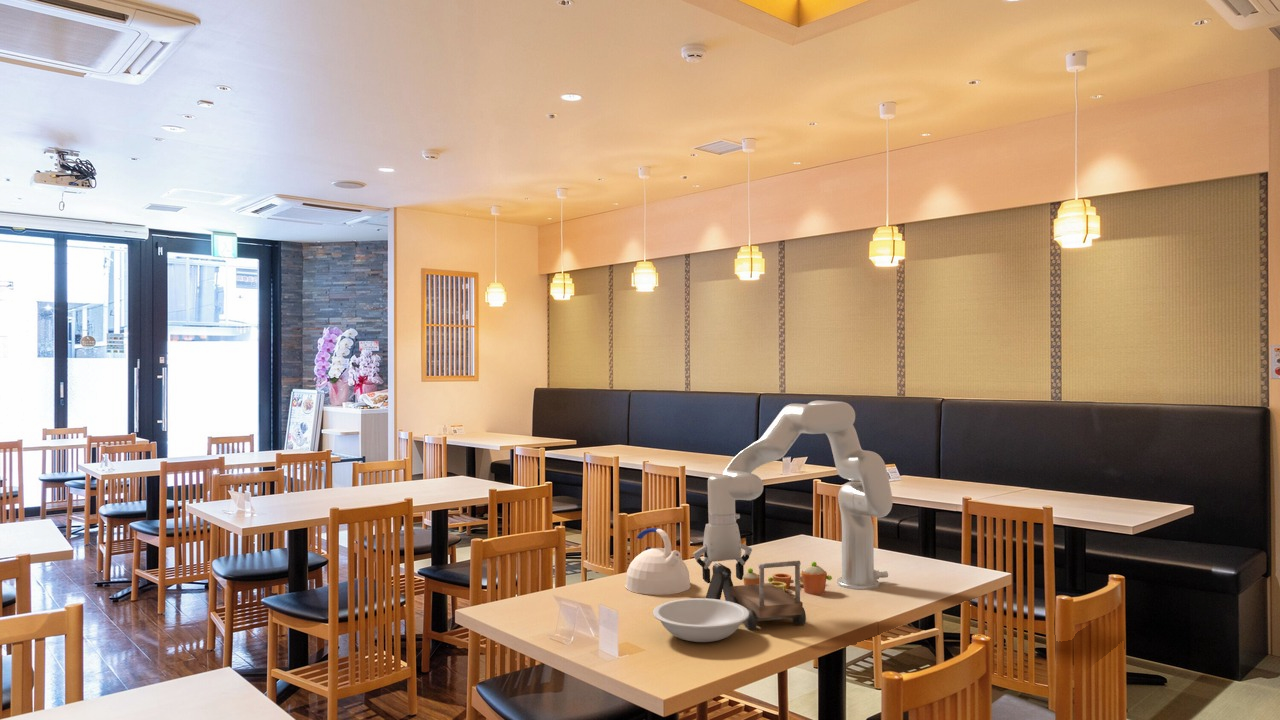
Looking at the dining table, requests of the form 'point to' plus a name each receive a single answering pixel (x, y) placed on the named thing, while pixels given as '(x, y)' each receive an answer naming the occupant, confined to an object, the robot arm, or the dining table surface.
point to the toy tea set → (809, 579)
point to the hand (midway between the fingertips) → (723, 580)
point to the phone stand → (720, 582)
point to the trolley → (769, 599)
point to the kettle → (658, 569)
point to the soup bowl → (701, 618)
